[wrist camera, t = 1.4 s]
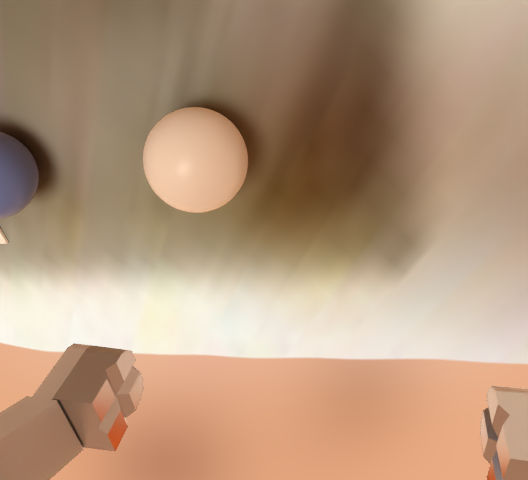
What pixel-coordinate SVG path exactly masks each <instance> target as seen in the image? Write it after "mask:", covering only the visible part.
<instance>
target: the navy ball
mask: <svg viewBox="0 0 528 480" xmlns="http://www.w3.org/2000/svg"><path fill="white" fill-rule="evenodd" d="M38 182H39V172H38V168H37V164H36V162H35V159H34V157H33V156H32V154H31V153H30V151H29V150H28V149H27V148H26V147H25V146H24V145H23V144H22V143H21V142H20V141H18V140H17V139H15V138H14V137H12V136H10V135H8V134H5V133H3V132H0V219H2V218H6V217H9V216H12V215H14V214H16V213H18V212H19V211H21V210H22V209H24V208H25V207H26V206H27V205H28V204H29V203H30V202H31V200H32V199H33V197H34V195H35V193H36V191H37V187H38Z"/></svg>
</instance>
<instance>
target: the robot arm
mask: <svg viewBox="0 0 528 480" xmlns="http://www.w3.org/2000/svg"><path fill="white" fill-rule="evenodd" d="M134 362H135V357H134V355H133V353H132V351H129V350H122V349H114V348H106V347H99V346H90V345H81V344H73V345H71V346H70V347H68V348H67V349H66V351H65V352H64V354H63V355H62V356H61V358H60V359H59V360H58V362H57V363H56V365H55V366H54V367H53V369H52V370H51V371H50V373H49V374H48V376H47V377H46V378H45V380H44V381H43V383H42V384H41V385H40V387H39V388H38V390H37V391H36V392H35V393H34V395H33V396H32V397H29V396H26V397H25V398H23V399H22V400H20V401H18V402H17V403H16V404H14V405H12V406H11V407H9V408H7V409H6V410H4V411H2V412H1V413H0V480H50V479H51V478H52V477H53V476H54V475H55V474H56V473H57V472H59V471H60V470H61V469H62V468H63V467H64V466H65V465H67V464H68V463H69V462H70V461H71V460H72V459H73V458H74V457H76V456H77V455H78V454H79V453H80V452H81V451H82V450H83V447H85V448H93V449H101V450H109V451H116V449H117V447H118V445H119V443H120V441H121V439H122V437H123V435H124V433H125V431H126V429H127V427H128V425H127V420H126V417H127V416H129V415H130V414H131V413H133V412H134V411H135V410H136V409H137V407H138V405H139V403H140V400H141V396H142V392H143V379H142V376H141V373H140V372H139V371H138V370H137V369H136V368H135V367H134V366H133V364H134ZM487 401H488V406H489V407H488V408H487V409H485V410H483V414H482V419H481V433H480V434H481V444H482V451H483V456H484V458H485V459H486V460H487V461H488V462H489V463H490V468H489V471H488V475H487V480H528V389H521V388H510V387H498V386H491V387H490V388H489V391H488V394H487Z"/></svg>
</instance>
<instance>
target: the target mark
mask: <svg viewBox="0 0 528 480" xmlns="http://www.w3.org/2000/svg"><path fill="white" fill-rule="evenodd" d="M6 243H8V240H7V238H6V237H5V235H4V233H3V232H2V230H1V228H0V244H6Z"/></svg>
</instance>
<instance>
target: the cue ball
mask: <svg viewBox="0 0 528 480" xmlns="http://www.w3.org/2000/svg"><path fill="white" fill-rule="evenodd" d="M143 166H144V171H145V175H146V178H147V180H148V182H149V184H150V186H151V188H152V189H153V191H154V192H155V193H156V194H157V195H158V196H159V197H160V198H161V199H162V200H163V201H164V202H166V203H167V204H169V205H170V206H172V207H174V208H176V209H179V210H182V211H186V212H195V213H200V212H207V211H211V210H214V209H217V208H219V207H221V206H223V205H225V204H226V203H227V202H229V201H230V200H231V199H232V198H233V197H234V196H235V195H236V194H237V193H238V191H239V190H240V188H241V187H242V185H243V182H244V180H245V178H246V174H247V168H248V154H247V148H246V144H245V142H244V139H243V137H242V135H241V134H240V132H239V130H238V129H237V128H236V126H235V125H234V124H233V123H232V122H231V121H230V120H228V119H227V118H226V117H225V116H223V115H222V114H220V113H218V112H216V111H213V110H210V109H206V108H201V107H187V108H182V109H179V110H176V111H173V112H171V113H169V114H167V115H166V116H165V117H163V118H162V119H161V120H159V122H158V123H157V124H156V125H155V126H154V127H153V129H152V130H151V132H150V133H149V135H148V138H147V140H146V142H145V146H144V151H143Z"/></svg>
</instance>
